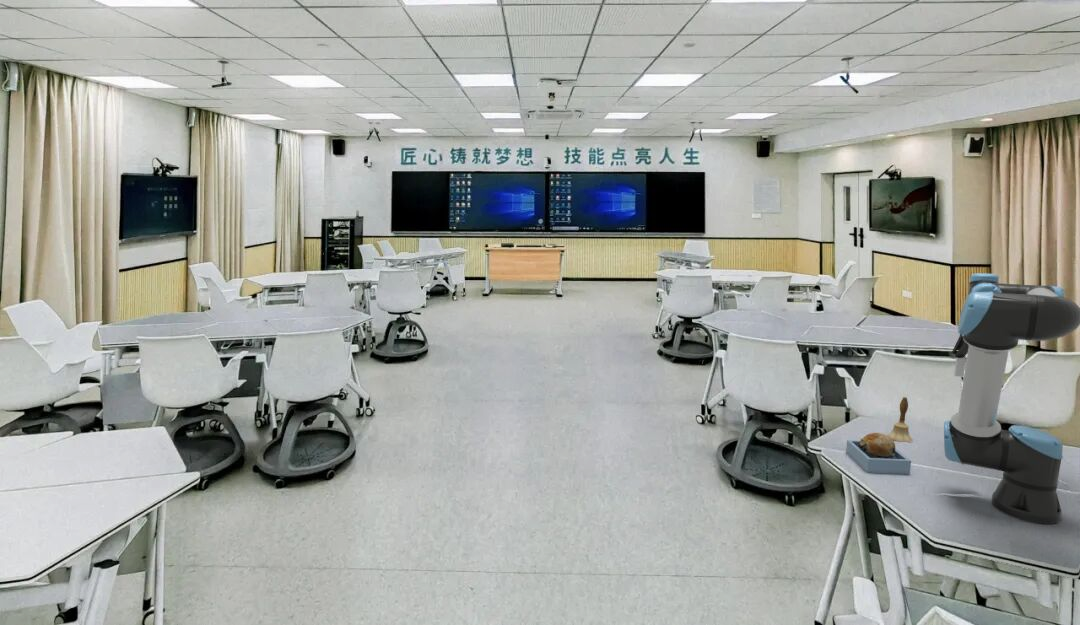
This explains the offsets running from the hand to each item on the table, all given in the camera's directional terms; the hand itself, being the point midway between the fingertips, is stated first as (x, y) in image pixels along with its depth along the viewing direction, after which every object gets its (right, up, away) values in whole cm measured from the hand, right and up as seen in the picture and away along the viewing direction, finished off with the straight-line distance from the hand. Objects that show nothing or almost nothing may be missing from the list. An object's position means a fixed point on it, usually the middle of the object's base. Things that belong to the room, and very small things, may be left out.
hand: (970, 381), depth 197 cm
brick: (-34, -27, -3) cm, 43 cm away
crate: (-34, -28, -3) cm, 44 cm away
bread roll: (-34, -23, -4) cm, 41 cm away
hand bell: (-11, -24, +20) cm, 34 cm away
